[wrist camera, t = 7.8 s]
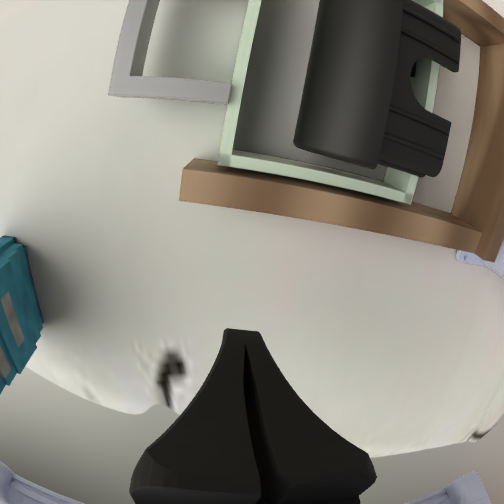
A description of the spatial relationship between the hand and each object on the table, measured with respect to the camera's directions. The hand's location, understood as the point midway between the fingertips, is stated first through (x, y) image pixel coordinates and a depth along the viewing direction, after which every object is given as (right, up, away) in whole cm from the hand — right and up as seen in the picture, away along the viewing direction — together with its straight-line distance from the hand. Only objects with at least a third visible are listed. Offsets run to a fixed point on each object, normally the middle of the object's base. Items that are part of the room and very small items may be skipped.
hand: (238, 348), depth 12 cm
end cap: (+7, +15, +4) cm, 17 cm away
